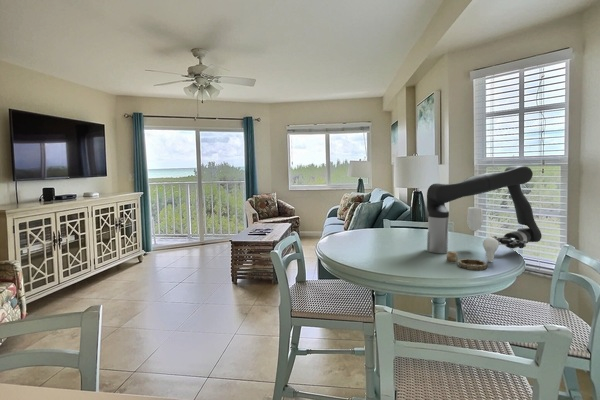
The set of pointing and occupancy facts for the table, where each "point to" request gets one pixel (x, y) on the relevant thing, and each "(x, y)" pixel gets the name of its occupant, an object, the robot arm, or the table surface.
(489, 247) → the lightbulb
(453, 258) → the oak stub
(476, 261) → the holder ring
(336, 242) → the table surface
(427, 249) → the robot arm
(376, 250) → the table surface
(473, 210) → the cup
